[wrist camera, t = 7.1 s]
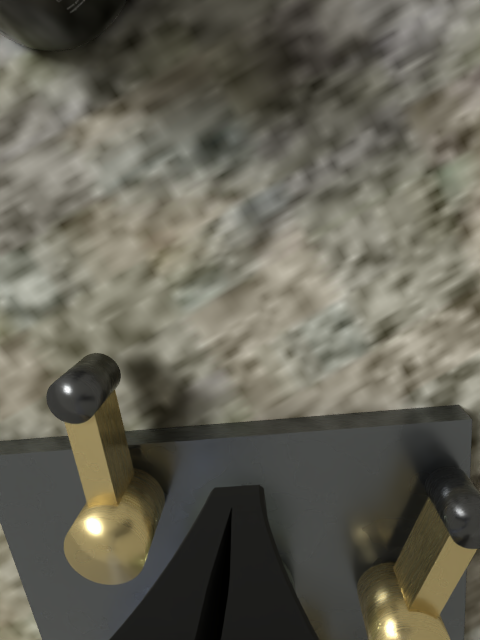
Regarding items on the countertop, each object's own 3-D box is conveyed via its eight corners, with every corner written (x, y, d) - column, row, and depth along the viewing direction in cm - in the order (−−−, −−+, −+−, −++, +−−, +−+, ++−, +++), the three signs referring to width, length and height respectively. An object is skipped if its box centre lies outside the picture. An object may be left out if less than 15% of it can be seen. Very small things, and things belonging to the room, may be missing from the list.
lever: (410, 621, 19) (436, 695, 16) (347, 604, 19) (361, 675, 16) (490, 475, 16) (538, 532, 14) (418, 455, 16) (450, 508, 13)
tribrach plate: (451, 678, 22) (523, 863, 16) (76, 683, 24) (10, 848, 18) (458, 404, 17) (564, 514, 11) (-6, 441, 19) (-133, 551, 13)
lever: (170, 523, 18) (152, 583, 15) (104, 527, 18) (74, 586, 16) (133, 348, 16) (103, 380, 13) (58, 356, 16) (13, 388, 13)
